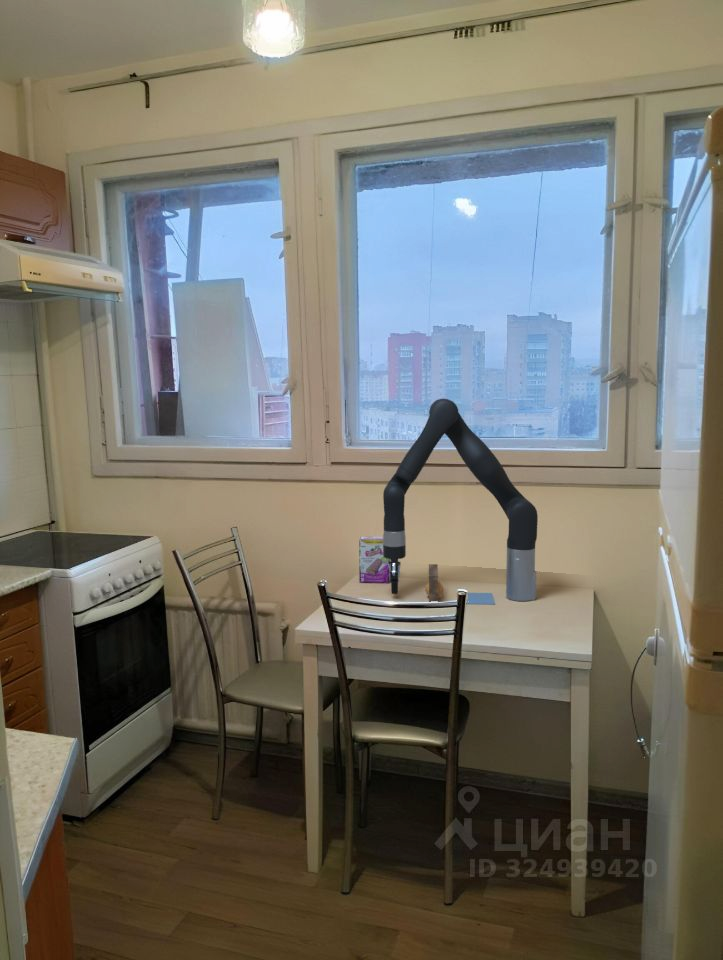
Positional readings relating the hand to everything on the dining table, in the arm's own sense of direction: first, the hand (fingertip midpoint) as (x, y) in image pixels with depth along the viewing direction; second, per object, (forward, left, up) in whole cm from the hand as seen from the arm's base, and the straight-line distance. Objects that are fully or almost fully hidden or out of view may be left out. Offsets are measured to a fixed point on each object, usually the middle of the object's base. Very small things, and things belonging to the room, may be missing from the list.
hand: (394, 593), depth 238 cm
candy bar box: (+8, -19, -2) cm, 21 cm away
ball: (-13, 0, +2) cm, 13 cm away
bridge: (-13, 0, -2) cm, 13 cm away
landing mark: (-27, 0, -2) cm, 27 cm away
